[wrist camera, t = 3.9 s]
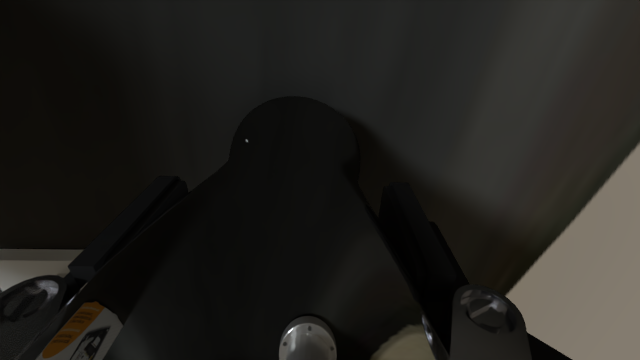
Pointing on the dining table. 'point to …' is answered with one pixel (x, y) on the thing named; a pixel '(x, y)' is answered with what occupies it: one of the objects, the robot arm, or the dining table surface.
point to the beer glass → (256, 263)
